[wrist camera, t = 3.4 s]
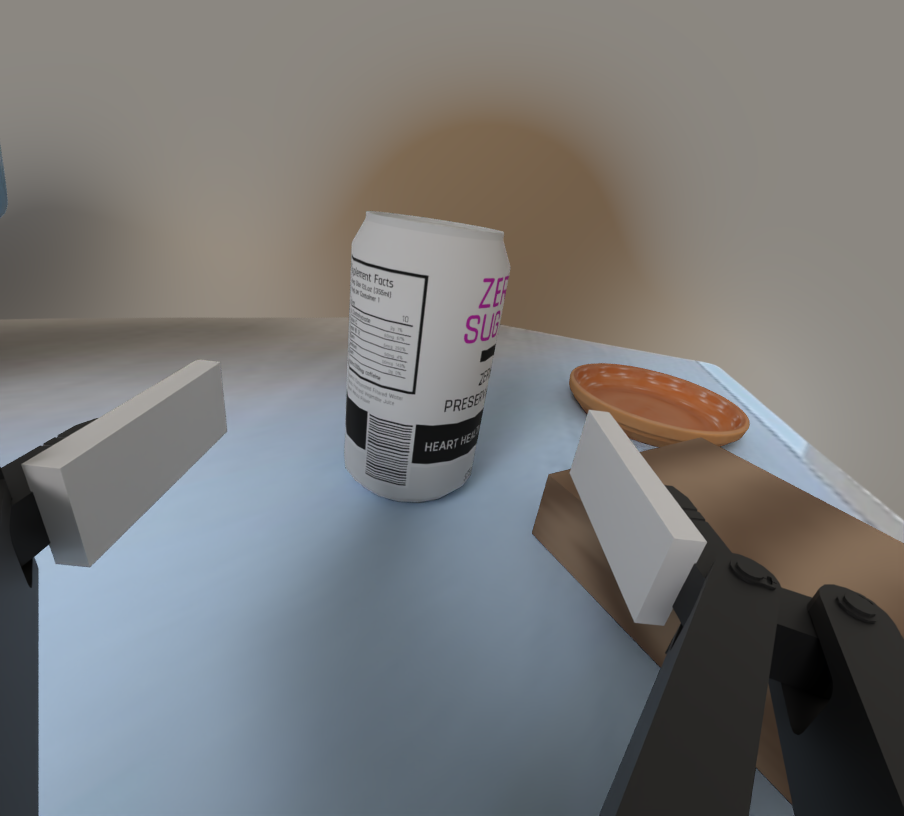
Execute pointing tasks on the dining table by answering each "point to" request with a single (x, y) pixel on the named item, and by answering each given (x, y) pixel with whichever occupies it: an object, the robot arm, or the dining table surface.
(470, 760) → the dining table surface
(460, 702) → the dining table surface
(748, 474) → the podium
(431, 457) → the supplement can
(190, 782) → the dining table surface
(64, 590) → the dining table surface
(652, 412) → the saucer
